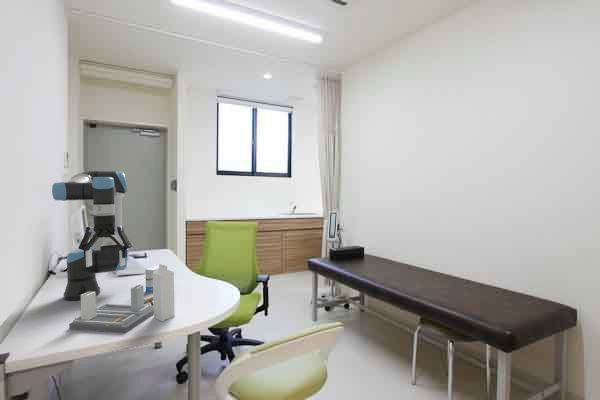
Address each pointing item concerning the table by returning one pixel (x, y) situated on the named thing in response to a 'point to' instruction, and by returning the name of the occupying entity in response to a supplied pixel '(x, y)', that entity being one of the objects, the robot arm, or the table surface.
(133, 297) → the fader
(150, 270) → the ink box
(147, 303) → the figurine
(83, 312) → the block
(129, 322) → the grey flat tray
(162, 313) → the milk
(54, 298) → the table surface
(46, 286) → the table surface
